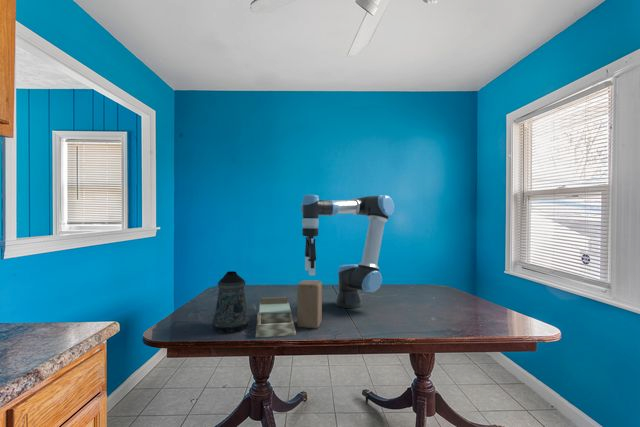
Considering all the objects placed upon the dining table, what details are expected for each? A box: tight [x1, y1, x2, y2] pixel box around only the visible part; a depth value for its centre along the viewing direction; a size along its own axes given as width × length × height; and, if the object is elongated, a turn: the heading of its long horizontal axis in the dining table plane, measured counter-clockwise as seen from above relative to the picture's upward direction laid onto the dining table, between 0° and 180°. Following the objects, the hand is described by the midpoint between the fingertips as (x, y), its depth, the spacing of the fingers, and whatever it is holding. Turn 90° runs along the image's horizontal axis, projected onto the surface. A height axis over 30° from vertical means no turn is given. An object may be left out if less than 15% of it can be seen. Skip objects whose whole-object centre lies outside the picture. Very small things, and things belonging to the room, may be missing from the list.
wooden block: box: [296, 279, 323, 329], centre depth 146 cm, size 10×10×20 cm
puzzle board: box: [255, 306, 297, 338], centre depth 147 cm, size 17×32×5 cm, turn 10°
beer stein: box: [211, 270, 251, 335], centre depth 143 cm, size 16×19×25 cm
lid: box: [258, 296, 292, 314], centre depth 153 cm, size 15×15×4 cm
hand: (309, 272), depth 146 cm, fingers open, 13 cm apart
